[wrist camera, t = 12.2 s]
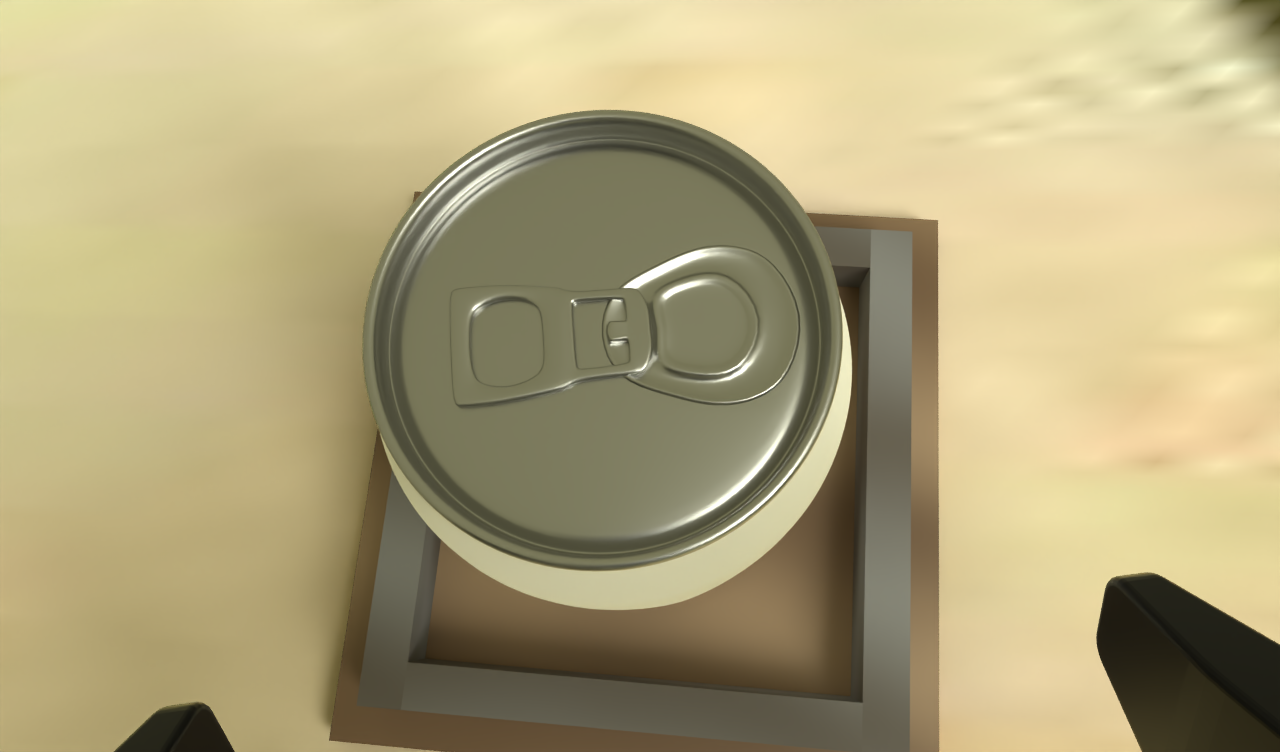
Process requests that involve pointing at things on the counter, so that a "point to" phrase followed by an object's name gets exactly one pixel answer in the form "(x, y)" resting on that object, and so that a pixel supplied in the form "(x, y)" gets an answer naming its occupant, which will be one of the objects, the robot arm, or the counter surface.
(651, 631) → the holder
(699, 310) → the can
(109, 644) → the counter surface
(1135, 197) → the counter surface
